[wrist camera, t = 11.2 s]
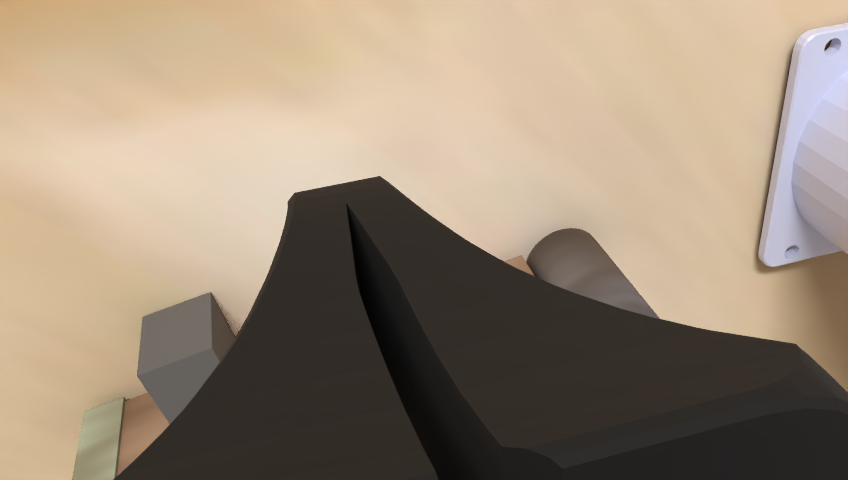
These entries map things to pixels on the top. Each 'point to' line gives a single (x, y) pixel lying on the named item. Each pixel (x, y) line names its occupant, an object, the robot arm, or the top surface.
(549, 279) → the gate
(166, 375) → the block
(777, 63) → the top surface
